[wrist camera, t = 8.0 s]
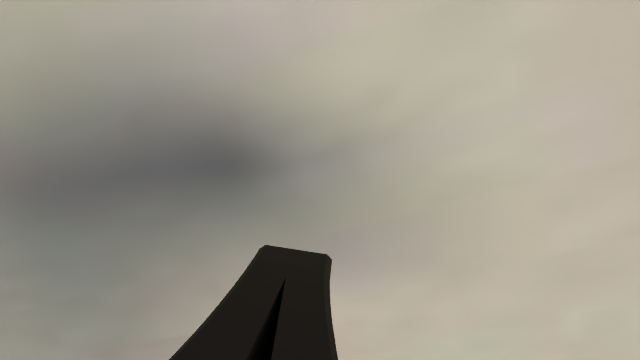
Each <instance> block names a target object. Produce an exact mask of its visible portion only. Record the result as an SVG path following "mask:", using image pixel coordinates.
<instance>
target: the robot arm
mask: <svg viewBox="0 0 640 360" xmlns="http://www.w3.org/2000/svg"><path fill="white" fill-rule="evenodd" d="M331 264H332V259H331V258H330V257H329V256H328V255H327V254H321V253H314V252H308V251H301V250H295V249H288V248H282V247H275V246H269V245H265V246H263V247H262V248H260V249H259V251H258V252H257V254H256V255H255V257H254V258H253V260H252V261H251V263H250V264H249V266H248V267H247V269H246V270H245V271H244V273H243V274H242V276H241V277H240V278H239V280H238V281H237V282H236V283H235V285H234V286H233V287H232V289H231V290H230V291H229V293H228V294H227V295H226V296H225V298H224V299H223V300H222V301H221V302H220V304H219V305H218V306H217V307H216V308H215V310H214V311H213V312H212V313H211V314H210V315H209V317H208V318H207V319H206V320H205V321H204V323H203V324H202V325H201V326H200V327H199V328H198V329H197V331H196V332H195V333H194V334H193V335H192V336H191V337H190V338H189V339H188V340H187V341H186V342H185V343H184V344H183V345H182V347H181V348H180V349H179V350H178V351H177V352H176V353H175V354H174V355H173V356H172V357H171V358H170V359H169V360H338V357H337V351H336V345H335V338H334V332H333V325H332V317H331V305H330V273H331Z"/></svg>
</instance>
